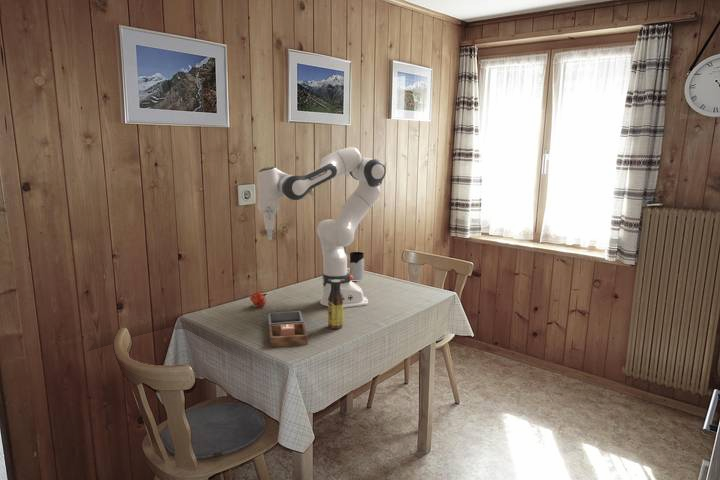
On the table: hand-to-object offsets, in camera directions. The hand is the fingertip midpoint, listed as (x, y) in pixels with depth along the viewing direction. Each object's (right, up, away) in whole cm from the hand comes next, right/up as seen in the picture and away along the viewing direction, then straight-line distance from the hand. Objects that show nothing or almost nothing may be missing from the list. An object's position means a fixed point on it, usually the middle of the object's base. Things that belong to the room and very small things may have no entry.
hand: (269, 237), depth 216 cm
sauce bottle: (+29, -37, -10) cm, 48 cm away
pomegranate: (-8, -32, +15) cm, 36 cm away
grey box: (+8, -36, -8) cm, 38 cm away
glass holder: (+35, -23, +64) cm, 76 cm away
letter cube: (+11, -39, -22) cm, 46 cm away
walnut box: (+11, -39, -22) cm, 46 cm away
